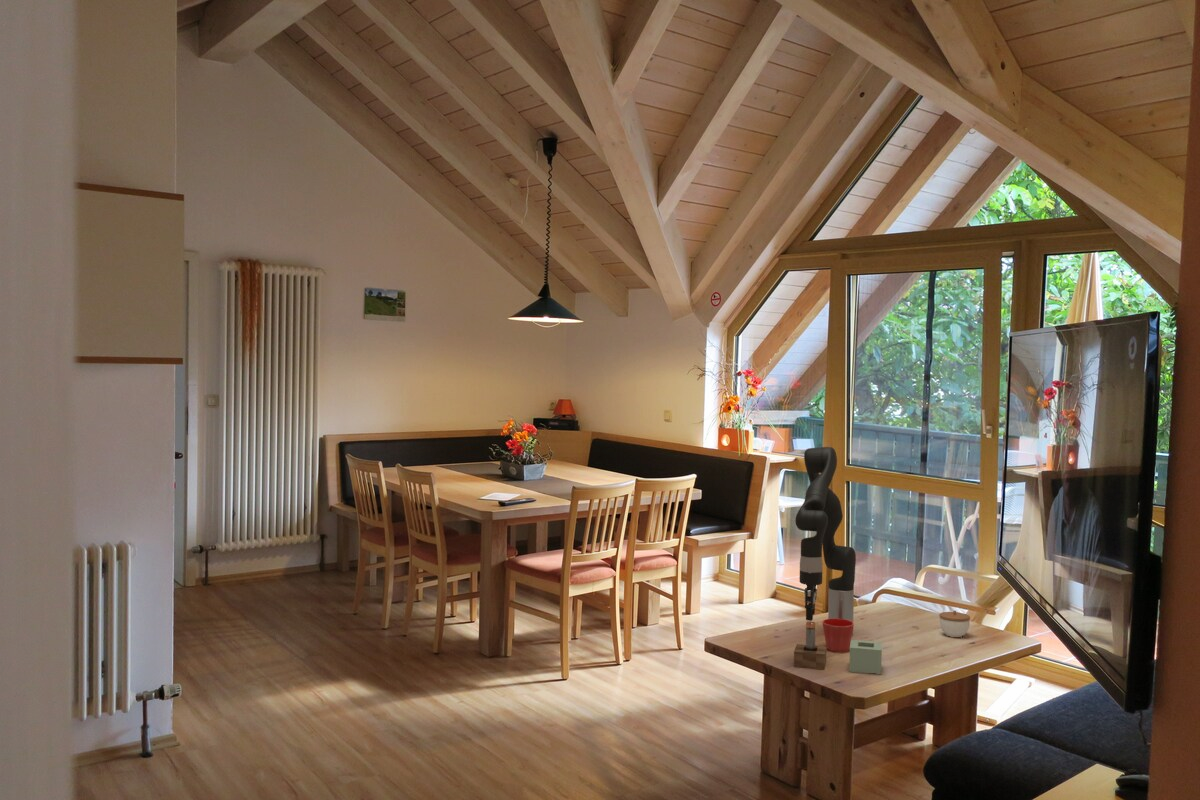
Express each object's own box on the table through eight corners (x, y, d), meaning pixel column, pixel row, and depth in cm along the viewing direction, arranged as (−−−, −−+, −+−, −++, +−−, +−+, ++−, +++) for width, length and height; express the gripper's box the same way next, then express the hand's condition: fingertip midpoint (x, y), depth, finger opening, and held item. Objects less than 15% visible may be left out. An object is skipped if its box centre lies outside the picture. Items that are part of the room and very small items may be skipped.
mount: (796, 658, 325) (796, 643, 325) (826, 660, 323) (826, 646, 322) (793, 666, 316) (793, 651, 316) (824, 669, 313) (824, 654, 313)
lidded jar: (950, 640, 349) (950, 615, 349) (933, 632, 360) (933, 608, 359) (975, 638, 352) (976, 613, 352) (958, 631, 362) (958, 606, 362)
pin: (806, 662, 321) (806, 621, 321) (815, 662, 320) (815, 621, 320) (805, 664, 318) (805, 623, 318) (814, 665, 317) (814, 624, 317)
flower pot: (830, 654, 331) (830, 626, 330) (817, 645, 341) (817, 618, 341) (858, 652, 333) (859, 625, 332) (844, 644, 343) (845, 617, 343)
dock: (850, 663, 320) (850, 639, 320) (881, 665, 317) (881, 642, 317) (849, 671, 311) (849, 647, 310) (881, 674, 308) (881, 650, 308)
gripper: (801, 564, 327) (800, 611, 327) (797, 572, 313) (797, 621, 313) (823, 566, 324) (823, 613, 325) (821, 574, 311) (820, 623, 311)
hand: (810, 617), depth 319 cm, fingers open, 8 cm apart
